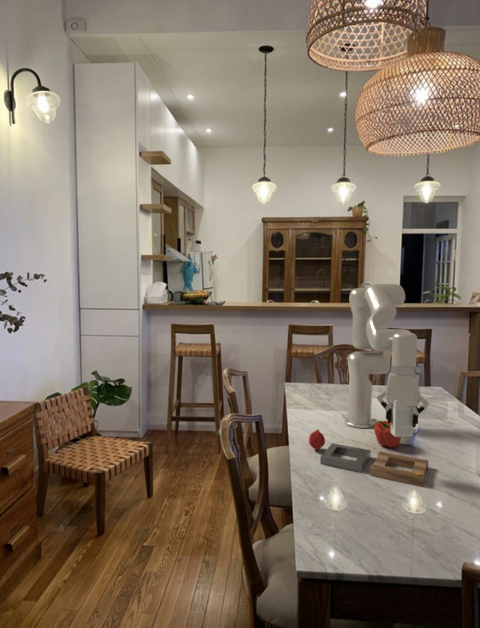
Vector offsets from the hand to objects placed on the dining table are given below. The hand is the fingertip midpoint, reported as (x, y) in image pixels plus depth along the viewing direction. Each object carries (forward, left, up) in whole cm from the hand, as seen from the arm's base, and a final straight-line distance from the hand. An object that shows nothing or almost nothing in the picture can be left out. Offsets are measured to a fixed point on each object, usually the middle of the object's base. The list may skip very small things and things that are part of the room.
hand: (401, 423), depth 148 cm
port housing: (0, 0, -16) cm, 16 cm away
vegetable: (-21, -8, -17) cm, 28 cm away
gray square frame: (0, -18, -16) cm, 24 cm away
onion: (-4, -30, -17) cm, 35 cm away
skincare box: (0, 0, -4) cm, 4 cm away
